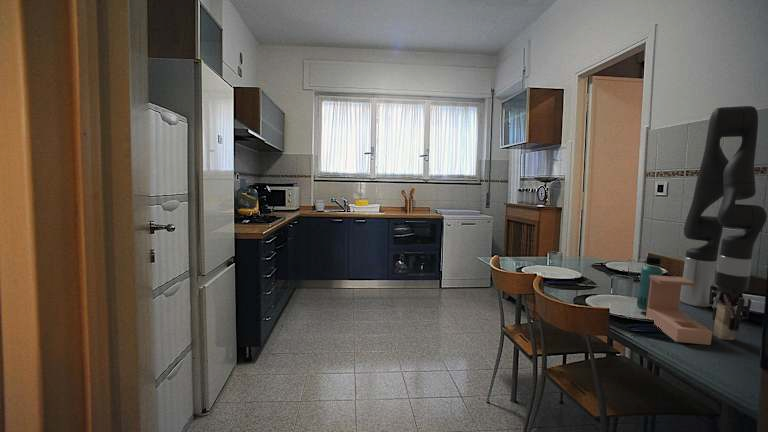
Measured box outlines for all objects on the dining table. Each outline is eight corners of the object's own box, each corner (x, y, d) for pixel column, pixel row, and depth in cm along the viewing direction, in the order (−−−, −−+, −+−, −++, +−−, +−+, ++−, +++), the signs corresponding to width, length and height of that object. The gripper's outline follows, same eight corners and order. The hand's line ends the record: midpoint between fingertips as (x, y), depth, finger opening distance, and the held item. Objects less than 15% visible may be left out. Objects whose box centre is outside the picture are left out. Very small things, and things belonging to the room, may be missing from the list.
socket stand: (676, 321, 132) (682, 277, 130) (712, 345, 114) (719, 294, 112) (644, 318, 134) (649, 274, 132) (674, 341, 116) (681, 291, 114)
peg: (725, 335, 122) (730, 303, 120) (733, 340, 118) (738, 307, 117) (712, 334, 122) (717, 302, 121) (720, 339, 119) (725, 306, 118)
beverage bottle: (654, 310, 141) (661, 255, 138) (660, 317, 135) (668, 259, 132) (633, 308, 143) (640, 253, 140) (638, 314, 137) (645, 257, 134)
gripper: (766, 279, 110) (757, 336, 112) (730, 266, 124) (722, 317, 126) (736, 277, 111) (727, 334, 113) (703, 264, 125) (696, 315, 127)
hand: (724, 325), depth 120 cm, fingers open, 6 cm apart
